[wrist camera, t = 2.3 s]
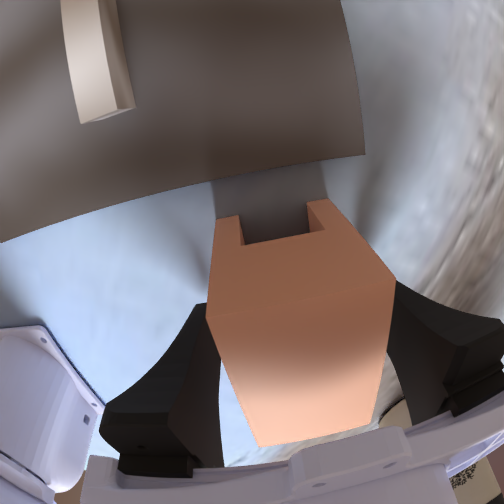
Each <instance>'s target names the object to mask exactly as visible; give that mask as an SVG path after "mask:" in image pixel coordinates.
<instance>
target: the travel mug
mask: <svg viewBox="0 0 504 504" xmlns="http://www.w3.org/2000/svg"><path fill="white" fill-rule="evenodd" d="M391 425H392V426H399V427H402V429H406V428H409V427H411V426H412V423H411V418H410V414H409V410H408V407H407V403H406V400H405V399H403V400H402V401H400V402H399V403H398V404H396V405H395V406H394V407H393V408H391V410H390V411H389V412H388V413H387V414H386V415H385V416H384V417H383V418H382V420H381V421H380V424H379V428H382V427H387V426H391ZM449 480H450V483H451V485H452V488H453V491H454V493H455V496H456V499H457V502H458V504H504V498H503V495H502V493H501V490H500V488H499V485H498V483H497V480H496V478H495V476H494V473H493V471H492V469H491V466H490V464H489V462H488V460H487V458H486V456H485V457H483V458H481V459H480V460H478V461H477V462H475V463H474V464H472V465H471V466H469V467H467V468H466V469H464V470H462V471H461V472H459V473H457V474H455V475H454V476H452V477H450V478H449Z"/></svg>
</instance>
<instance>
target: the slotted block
mask: <svg viewBox="0 0 504 504" xmlns="http://www.w3.org/2000/svg"><path fill="white" fill-rule="evenodd" d="M306 203H307V211H308V220H309V228H310V233H306V234H301V235H295V236H290V237H285V238H280V239H274V240H269V241H264V242H259V243H254V244H249V245H245V242H244V237H243V233H242V228H241V224H240V219H239V215H235V216H230V217H225V218H220V219H216V223H215V232H214V240H213V249H212V258H211V268H210V277H209V287H208V297H207V308H206V320H207V323H208V325H209V328H210V331H211V333H212V336H213V339H214V341H215V344H216V347H217V349H218V352H219V354H220V357H221V359H222V362H223V365H224V367H225V370H226V372H227V375H228V377H229V379H230V382H231V384H232V387H233V389H234V392H235V394H236V396H237V399H238V401H239V404H240V406H241V408H242V411H243V413H244V415H245V417H246V420H247V422H248V424H249V427H250V429H251V431H252V433H253V436H254V438H255V440H256V442H257V444H258V447H266V446H273V445H279V444H285V443H291V442H296V441H302V440H307V439H311V438H316V437H321V436H325V435H329V434H333V433H337V432H341V431H345V430H349V429H353V428H356V427H360V426H363V425H366V424H370V421H371V417H372V414H373V410H374V406H375V402H376V398H377V393H378V389H379V385H380V380H381V375H382V370H383V365H384V360H385V355H386V349H387V344H388V338H389V331H390V325H391V318H392V310H393V303H394V294H395V285H396V277H395V276H394V275H393V274H392V272H391V271H390V270H389V269H388V267H387V266H386V265H385V264H384V262H383V261H382V260H381V259H380V257H379V256H378V255H377V254H376V253H375V251H374V250H373V249H372V248H371V247H370V245H369V244H368V243H367V242H366V241H365V239H364V238H363V237H362V236H361V235H360V234H359V232H358V231H357V230H356V229H355V228H354V227H353V225H352V224H351V223H350V222H349V221H348V220H347V219H346V217H345V216H344V215H343V214H342V213H341V212H340V211H339V210H338V209H337V207H336V206H335V205H334V204H333V203H332V202H331V201H330V200H329V199H328V198H327V199H321V200H315V201H309V202H306Z"/></svg>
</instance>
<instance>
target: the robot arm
mask: <svg viewBox="0 0 504 504" xmlns="http://www.w3.org/2000/svg"><path fill="white" fill-rule="evenodd" d="M206 308H207V303H201V304H196V305H195V307H194V308H193V310H192V312H191V314H190V315H189V317H188V319H187V320H186V322H185V324H184V326H183V327H182V329H181V330H180V332H179V334H178V335H177V337H176V338H175V340H174V341H173V342H172V344H171V345H170V347H169V348H168V350H167V351H166V352H165V353H164V355H163V356H162V357H161V358H160V359H159V361H158V362H157V363H156V364H155V365H154V366H153V367H152V368H151V369H150V370H149V371H148V372H147V373H146V374H145V375H144V376H143V377H142V378H141V379H140V380H138V381H137V382H136V383H135V384H134V385H132V386H131V387H130V388H129V389H127V390H126V391H125V392H123V393H122V394H120V395H119V396H117V397H116V398H114V399H113V400H111V401H110V402H108V403H106V406H104V405H103V404H102V403H101V402H100V400H99V399H98V398H97V397H96V396H95V395H94V393H93V392H92V391H91V390H90V389H89V387H88V386H87V385H86V384H85V382H84V381H83V380H82V379H81V377H80V376H79V375H78V374H77V372H76V371H75V370H74V368H73V367H72V366H71V364H70V363H69V362H68V360H67V359H66V358H65V356H64V355H63V354H62V352H61V351H60V349H59V348H58V346H57V345H56V344H55V342H54V341H53V339H52V338H51V336H50V335H49V333H48V332H47V330H46V329H45V328H44V327H43V326H40V325H36V326H26V327H16V328H5V329H0V504H56V502H55V501H54V495H55V493H59V492H64V491H67V490H69V489H71V488H72V487H73V486H74V485H75V484H76V483H77V482H78V481H79V479H80V477H81V475H82V473H83V470H84V466H85V462H86V458H87V454H88V450H89V446H90V442H91V438H92V434H93V431H94V427H95V423H96V420H97V416H98V415H103V416H102V420H101V424H100V427H99V433H100V435H101V437H102V438H103V439H104V440H105V441H106V442H107V443H108V444H109V445H111V446H112V447H113V448H114V449H115V450H116V451H118V452H119V453H120V457H119V460H117V459H115V458H111V457H104V456H97V455H90V456H89V460H88V465H87V469H86V474H85V478H84V483H83V488H82V493H81V498H80V503H81V504H458V502H457V499H456V496H455V493H454V491H453V488H452V485H451V483H450V480H449V478H450V477H452V476H454V475H455V474H457V473H459V472H461V471H462V470H464V469H466V468H467V467H469V466H471V465H472V464H474V463H475V462H477V461H478V460H480V459H481V458H483V457H485V456H486V455H487V454H489V453H490V452H492V451H493V450H495V449H496V448H498V447H499V446H500V445H502V444H503V443H504V372H503V371H502V369H503V368H504V365H503V363H502V362H501V359H502V357H503V355H504V324H503V323H502V322H501V320H500V319H496V318H489V317H482V316H477V315H473V314H468V313H465V312H461V311H458V310H455V309H452V308H449V307H447V306H444V305H442V304H439V303H437V302H435V301H432V300H430V299H428V298H426V297H424V296H423V295H421V294H419V293H417V292H415V291H413V290H412V289H410V288H408V287H406V286H405V285H403V284H402V283H400V282H398V281H397V280H396V285H395V294H394V303H393V310H392V318H391V325H390V331H389V338H388V344H387V349H386V351H387V353H388V355H389V357H390V359H391V361H392V363H393V365H394V368H395V371H396V373H397V376H398V379H399V381H400V384H401V387H402V390H403V393H404V396H405V400H406V403H407V407H408V410H409V414H410V418H411V423H412V426H411V427H409V428H406V429H402V427H399V426H392V425H391V426H387V427H382V428H379V429H375V430H372V431H369V432H366V433H362V434H359V435H355V436H352V437H348V438H344V439H340V440H336V441H332V442H328V443H324V444H319V445H315V446H312V447H308V448H305V449H302V450H300V451H298V452H297V453H295V454H293V455H292V456H291V457H290V459H289V460H286V461H280V462H273V463H265V464H257V465H248V466H238V467H224V460H223V452H222V443H221V432H220V419H219V381H220V367H221V357H220V354H219V352H218V349H217V347H216V344H215V341H214V339H213V336H212V333H211V331H210V328H209V325H208V323H207V320H206Z"/></svg>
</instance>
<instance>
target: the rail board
mask: <svg viewBox="0 0 504 504" xmlns="http://www.w3.org/2000/svg"><path fill="white" fill-rule="evenodd" d="M357 155H366V154H365V143H364V132H363V123H362V115H361V107H360V99H359V92H358V86H357V79H356V73H355V67H354V62H353V56H352V51H351V46H350V41H349V36H348V31H347V27H346V23H345V18H344V14H343V10H342V6H341V2H340V0H0V243H3V242H5V241H8V240H10V239H13V238H16V237H18V236H21V235H24V234H26V233H29V232H32V231H35V230H38V229H40V228H43V227H46V226H49V225H52V224H55V223H58V222H61V221H64V220H67V219H70V218H73V217H76V216H79V215H83V214H86V213H89V212H92V211H95V210H99V209H102V208H106V207H109V206H112V205H116V204H119V203H123V202H126V201H130V200H134V199H137V198H141V197H145V196H149V195H152V194H156V193H160V192H164V191H168V190H172V189H176V188H180V187H185V186H189V185H193V184H198V183H202V182H206V181H211V180H216V179H220V178H225V177H230V176H235V175H240V174H245V173H250V172H255V171H260V170H266V169H271V168H277V167H283V166H288V165H294V164H301V163H307V162H313V161H320V160H327V159H334V158H342V157H349V156H357Z"/></svg>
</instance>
